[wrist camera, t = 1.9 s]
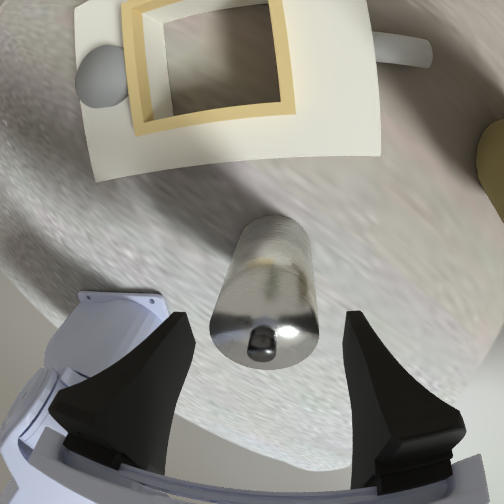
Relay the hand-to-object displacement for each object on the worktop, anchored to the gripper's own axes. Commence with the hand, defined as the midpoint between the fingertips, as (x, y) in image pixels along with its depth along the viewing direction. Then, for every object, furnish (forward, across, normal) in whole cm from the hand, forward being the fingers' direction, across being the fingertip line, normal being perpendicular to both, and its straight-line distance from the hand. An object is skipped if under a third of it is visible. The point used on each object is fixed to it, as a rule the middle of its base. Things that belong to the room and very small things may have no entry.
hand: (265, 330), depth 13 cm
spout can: (+8, 0, 0) cm, 8 cm away
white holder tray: (+8, 0, -12) cm, 15 cm away
